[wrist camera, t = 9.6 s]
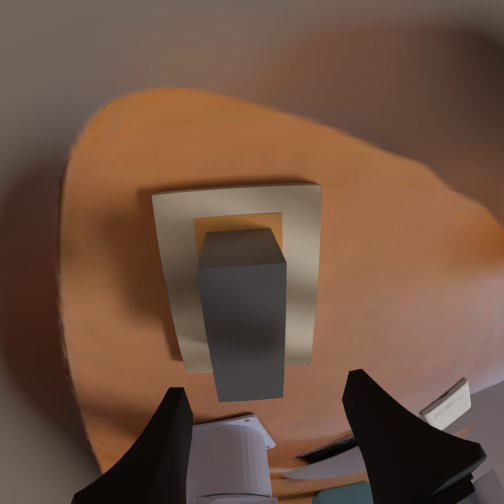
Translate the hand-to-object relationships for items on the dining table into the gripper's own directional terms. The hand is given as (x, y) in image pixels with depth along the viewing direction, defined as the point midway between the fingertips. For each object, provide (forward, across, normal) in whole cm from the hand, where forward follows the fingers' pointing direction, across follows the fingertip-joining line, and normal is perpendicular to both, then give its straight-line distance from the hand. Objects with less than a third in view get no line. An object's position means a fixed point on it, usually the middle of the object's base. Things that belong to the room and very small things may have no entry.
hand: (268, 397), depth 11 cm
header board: (+9, +1, 0) cm, 9 cm away
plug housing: (+8, +1, -1) cm, 8 cm away
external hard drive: (+10, -30, +26) cm, 41 cm away
